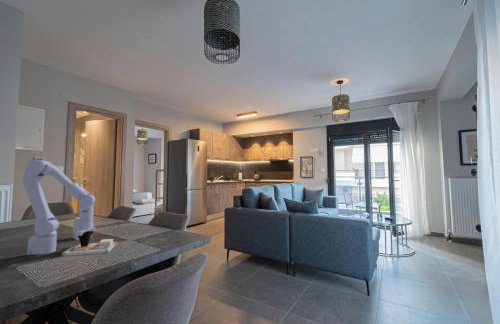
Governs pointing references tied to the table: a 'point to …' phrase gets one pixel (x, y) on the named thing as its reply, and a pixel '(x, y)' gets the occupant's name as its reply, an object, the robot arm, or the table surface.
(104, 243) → the cream tile
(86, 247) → the terracotta tile
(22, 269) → the table surface
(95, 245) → the oak board
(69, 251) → the grey tray
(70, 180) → the robot arm
